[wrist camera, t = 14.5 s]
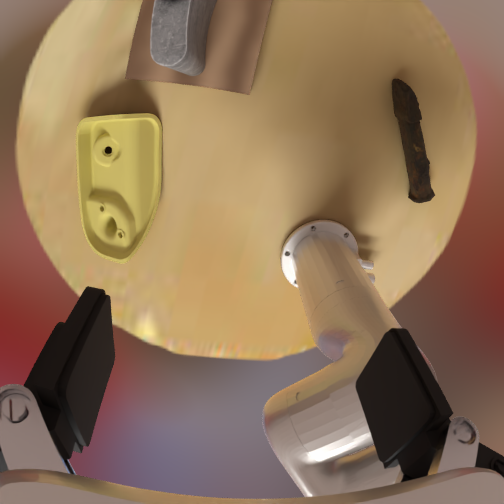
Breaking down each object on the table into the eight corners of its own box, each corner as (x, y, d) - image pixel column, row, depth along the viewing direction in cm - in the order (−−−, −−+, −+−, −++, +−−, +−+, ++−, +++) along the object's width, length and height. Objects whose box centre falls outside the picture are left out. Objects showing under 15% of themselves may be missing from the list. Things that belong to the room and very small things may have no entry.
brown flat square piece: (275, -16, 31) (278, -23, 28) (248, 94, 39) (249, 94, 36) (158, -30, 29) (154, -37, 26) (132, 79, 36) (125, 78, 34)
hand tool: (425, 191, 46) (440, 201, 42) (405, 197, 47) (420, 208, 43) (406, 77, 38) (423, 77, 34) (384, 80, 38) (399, 80, 34)
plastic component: (75, 118, 36) (124, 113, 33) (112, 115, 42) (162, 113, 39) (84, 251, 44) (130, 267, 41) (116, 236, 50) (163, 248, 47)
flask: (174, 74, 34) (128, 62, 18) (197, -26, 27) (174, -93, 12) (202, 77, 34) (178, 65, 19) (226, -23, 28) (222, -92, 12)
